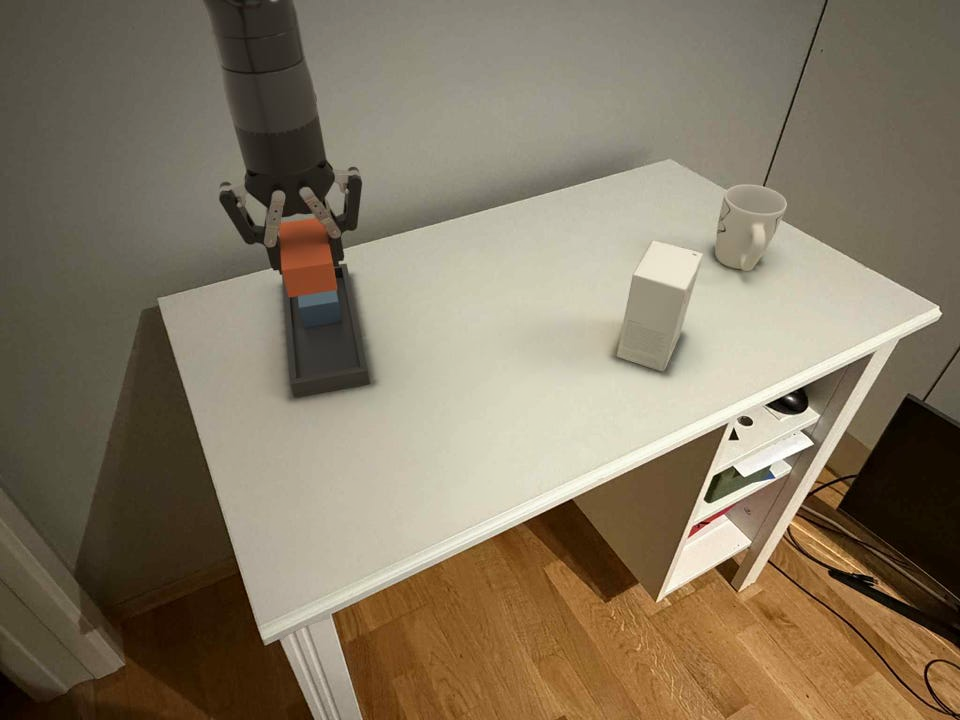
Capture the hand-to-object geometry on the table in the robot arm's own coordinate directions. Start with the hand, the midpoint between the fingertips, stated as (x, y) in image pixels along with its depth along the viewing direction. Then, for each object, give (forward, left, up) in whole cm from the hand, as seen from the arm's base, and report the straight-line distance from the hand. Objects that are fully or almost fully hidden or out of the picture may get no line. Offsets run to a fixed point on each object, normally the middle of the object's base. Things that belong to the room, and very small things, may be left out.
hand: (309, 265), depth 69 cm
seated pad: (+6, +11, -15) cm, 19 cm away
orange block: (0, 0, 0) cm, 0 cm away
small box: (+31, -26, -15) cm, 43 cm away
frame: (+3, +6, -15) cm, 17 cm away
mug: (+56, -25, -15) cm, 63 cm away
